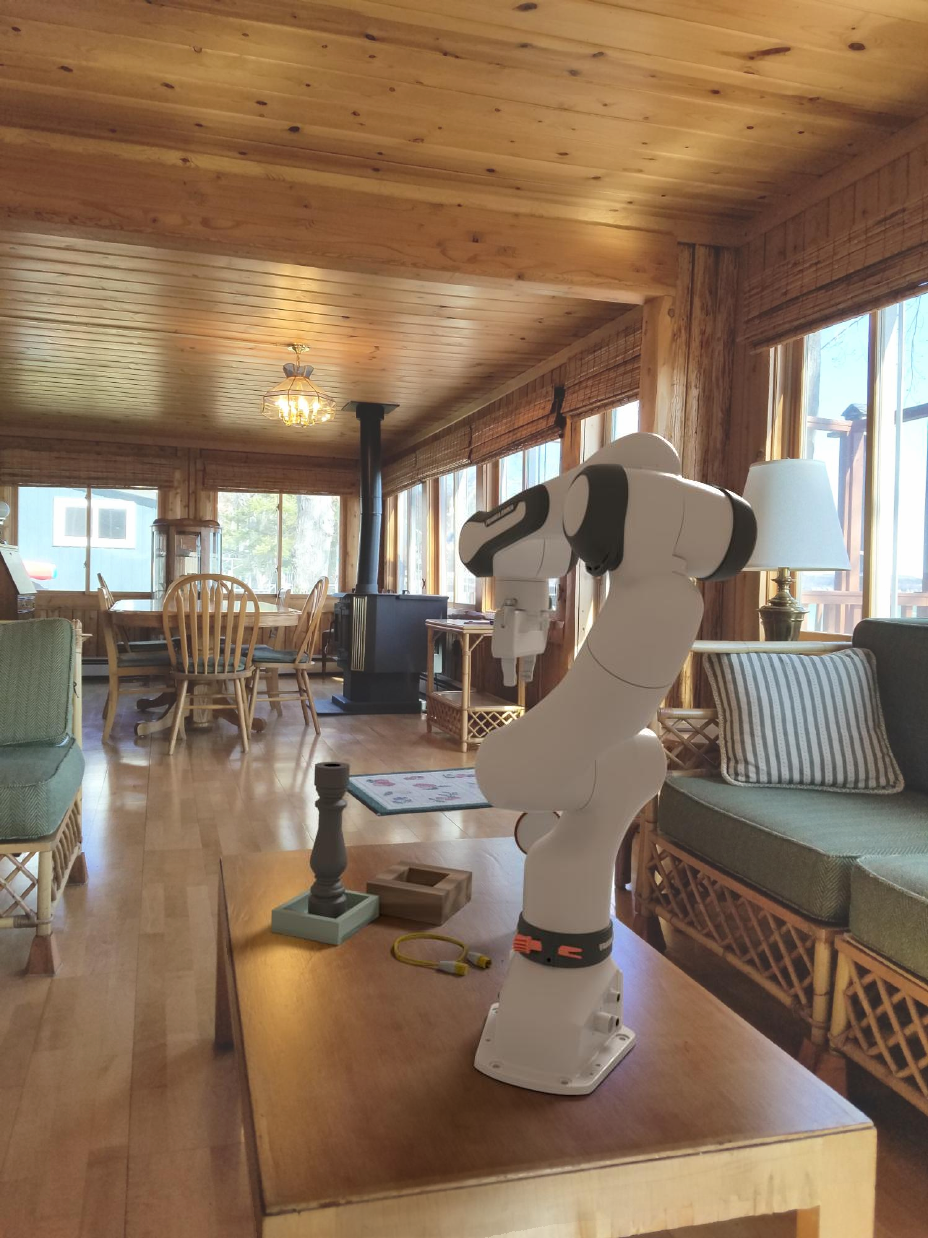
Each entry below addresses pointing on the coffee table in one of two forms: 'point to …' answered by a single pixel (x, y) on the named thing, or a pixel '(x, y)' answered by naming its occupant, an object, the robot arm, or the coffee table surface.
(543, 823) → the magnifying glass
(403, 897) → the socket block
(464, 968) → the extension cord
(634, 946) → the coffee table surface
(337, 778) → the candle holder
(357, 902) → the parts tray
